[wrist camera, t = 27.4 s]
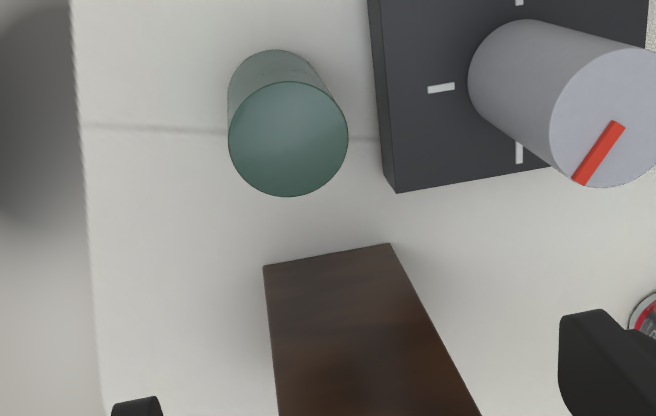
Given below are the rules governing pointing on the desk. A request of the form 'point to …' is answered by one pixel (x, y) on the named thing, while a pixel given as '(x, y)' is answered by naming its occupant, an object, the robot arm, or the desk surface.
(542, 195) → the desk surface
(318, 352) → the stand
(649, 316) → the pill bottle
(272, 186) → the tea tin
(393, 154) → the dark grey panel
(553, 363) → the desk surface
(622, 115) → the grey round cylinder
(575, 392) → the robot arm
